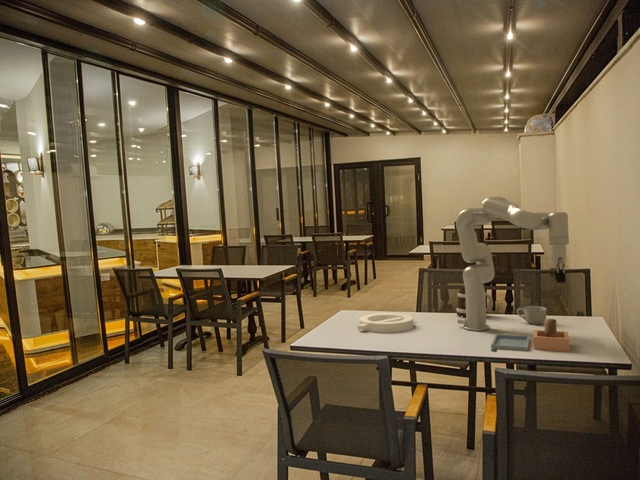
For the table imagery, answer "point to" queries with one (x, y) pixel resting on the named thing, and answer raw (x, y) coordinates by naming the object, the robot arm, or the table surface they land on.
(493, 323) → the table surface
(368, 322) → the ring with crossbar
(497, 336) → the tray
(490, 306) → the mug
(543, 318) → the teacup
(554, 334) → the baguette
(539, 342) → the open box
